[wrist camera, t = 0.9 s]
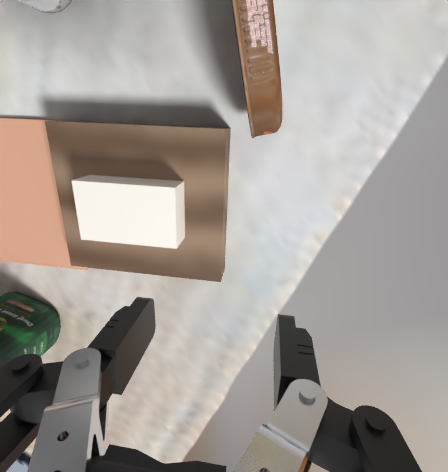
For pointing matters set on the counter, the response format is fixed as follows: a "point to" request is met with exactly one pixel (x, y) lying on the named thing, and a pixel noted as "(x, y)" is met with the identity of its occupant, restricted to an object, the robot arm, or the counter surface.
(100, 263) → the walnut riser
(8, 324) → the coffee jar
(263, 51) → the tin
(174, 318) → the counter surface
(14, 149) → the terracotta mat
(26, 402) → the robot arm
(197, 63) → the counter surface
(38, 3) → the mug
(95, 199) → the cream block
